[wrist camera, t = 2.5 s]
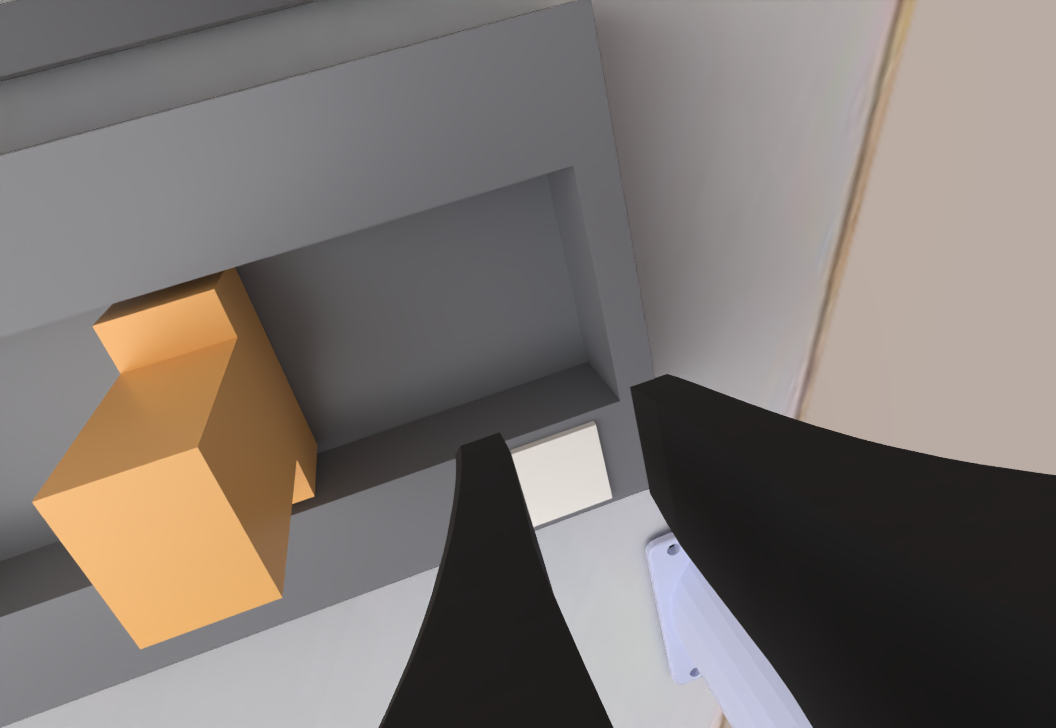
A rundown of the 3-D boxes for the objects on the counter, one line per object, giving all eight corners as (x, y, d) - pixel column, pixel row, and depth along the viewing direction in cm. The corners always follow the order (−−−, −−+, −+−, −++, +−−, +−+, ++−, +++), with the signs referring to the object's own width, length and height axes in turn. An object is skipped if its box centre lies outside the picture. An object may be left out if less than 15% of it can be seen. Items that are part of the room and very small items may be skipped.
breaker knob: (231, 257, 16) (161, 385, 10) (317, 445, 18) (307, 640, 12) (126, 289, 15) (-14, 441, 9) (228, 475, 18) (171, 691, 12)
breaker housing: (526, -114, 16) (593, -175, 12) (638, 462, 24) (702, 547, 20) (-469, 128, 13) (-833, 158, 9) (25, 685, 21) (-51, 836, 17)
